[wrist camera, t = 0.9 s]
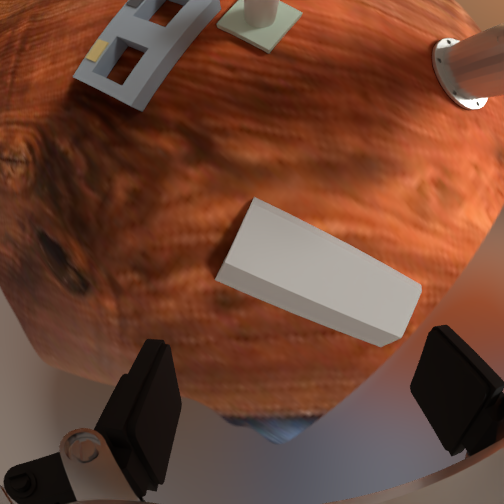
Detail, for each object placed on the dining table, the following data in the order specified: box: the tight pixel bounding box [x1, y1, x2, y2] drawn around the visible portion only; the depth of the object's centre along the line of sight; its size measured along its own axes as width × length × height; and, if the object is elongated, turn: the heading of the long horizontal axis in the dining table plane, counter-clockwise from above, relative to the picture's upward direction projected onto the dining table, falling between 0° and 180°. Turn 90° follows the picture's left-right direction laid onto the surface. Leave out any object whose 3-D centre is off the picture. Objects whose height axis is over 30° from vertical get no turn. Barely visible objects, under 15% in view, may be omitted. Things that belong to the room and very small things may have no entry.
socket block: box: [73, 0, 221, 112], centre depth 27 cm, size 18×11×4 cm, turn 147°
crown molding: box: [215, 197, 422, 347], centre depth 38 cm, size 29×12×4 cm, turn 65°
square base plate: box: [216, 0, 302, 54], centre depth 28 cm, size 8×8×1 cm
